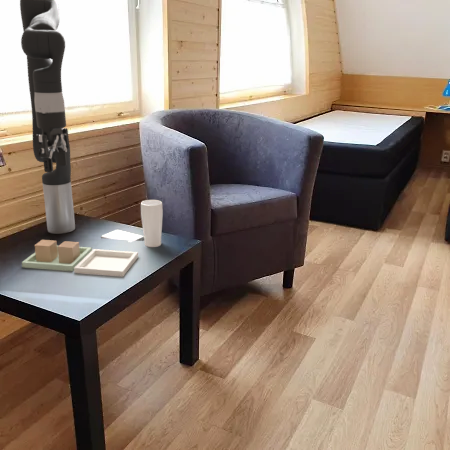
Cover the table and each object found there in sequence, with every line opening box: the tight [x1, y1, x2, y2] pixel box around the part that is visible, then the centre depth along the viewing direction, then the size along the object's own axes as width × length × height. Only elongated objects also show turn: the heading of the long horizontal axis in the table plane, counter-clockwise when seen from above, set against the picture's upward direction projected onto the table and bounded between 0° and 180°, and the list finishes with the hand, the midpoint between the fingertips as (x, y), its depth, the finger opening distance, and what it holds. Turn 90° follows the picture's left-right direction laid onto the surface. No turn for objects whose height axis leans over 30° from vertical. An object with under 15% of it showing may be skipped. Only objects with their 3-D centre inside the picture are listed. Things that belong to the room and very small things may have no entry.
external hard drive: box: [100, 229, 144, 243], centre depth 160 cm, size 2×8×12 cm
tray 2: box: [73, 248, 139, 278], centre depth 138 cm, size 14×14×2 cm
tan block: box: [58, 240, 80, 263], centre depth 139 cm, size 4×4×5 cm
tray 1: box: [21, 244, 93, 272], centre depth 140 cm, size 14×15×2 cm
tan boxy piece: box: [34, 239, 58, 262], centre depth 140 cm, size 4×4×5 cm
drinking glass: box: [140, 199, 164, 248], centre depth 151 cm, size 7×7×15 cm
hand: (56, 168), depth 133 cm, fingers open, 8 cm apart
